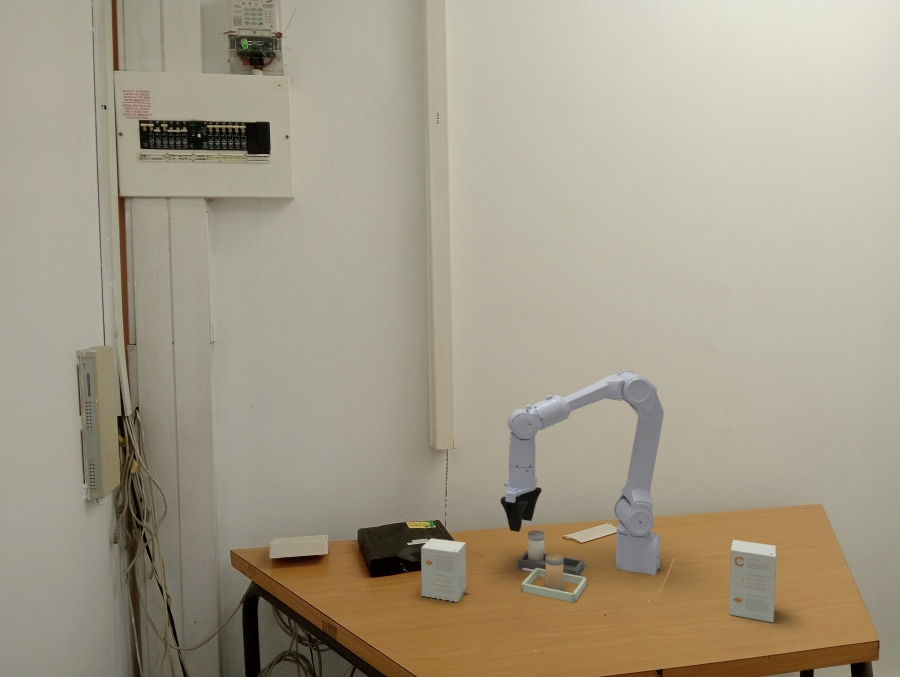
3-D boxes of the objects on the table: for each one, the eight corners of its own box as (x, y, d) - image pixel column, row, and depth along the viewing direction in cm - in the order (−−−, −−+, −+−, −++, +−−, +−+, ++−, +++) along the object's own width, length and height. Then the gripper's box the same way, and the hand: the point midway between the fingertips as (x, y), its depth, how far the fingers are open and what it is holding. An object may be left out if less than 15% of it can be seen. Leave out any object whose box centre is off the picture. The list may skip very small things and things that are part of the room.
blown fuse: (565, 588, 146) (566, 555, 146) (559, 595, 143) (560, 562, 142) (548, 584, 148) (548, 552, 147) (542, 591, 145) (543, 558, 144)
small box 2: (774, 609, 139) (776, 545, 137) (773, 623, 133) (777, 556, 132) (729, 601, 142) (732, 538, 141) (727, 615, 136) (730, 549, 135)
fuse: (546, 562, 158) (546, 532, 158) (540, 568, 155) (541, 537, 154) (530, 559, 160) (531, 529, 159) (525, 565, 157) (525, 534, 156)
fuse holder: (587, 569, 157) (587, 558, 157) (575, 585, 149) (576, 573, 149) (527, 558, 163) (527, 547, 163) (513, 572, 155) (513, 561, 155)
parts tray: (586, 589, 147) (587, 577, 147) (574, 607, 139) (574, 595, 139) (535, 578, 152) (535, 567, 152) (520, 595, 144) (521, 584, 143)
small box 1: (466, 591, 146) (467, 542, 145) (458, 603, 140) (458, 552, 139) (430, 586, 148) (430, 537, 147) (420, 597, 143) (420, 546, 142)
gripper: (516, 455, 162) (515, 512, 163) (492, 470, 149) (491, 532, 150) (545, 458, 159) (544, 517, 160) (523, 474, 146) (522, 538, 147)
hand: (521, 525), depth 155 cm, fingers open, 7 cm apart
